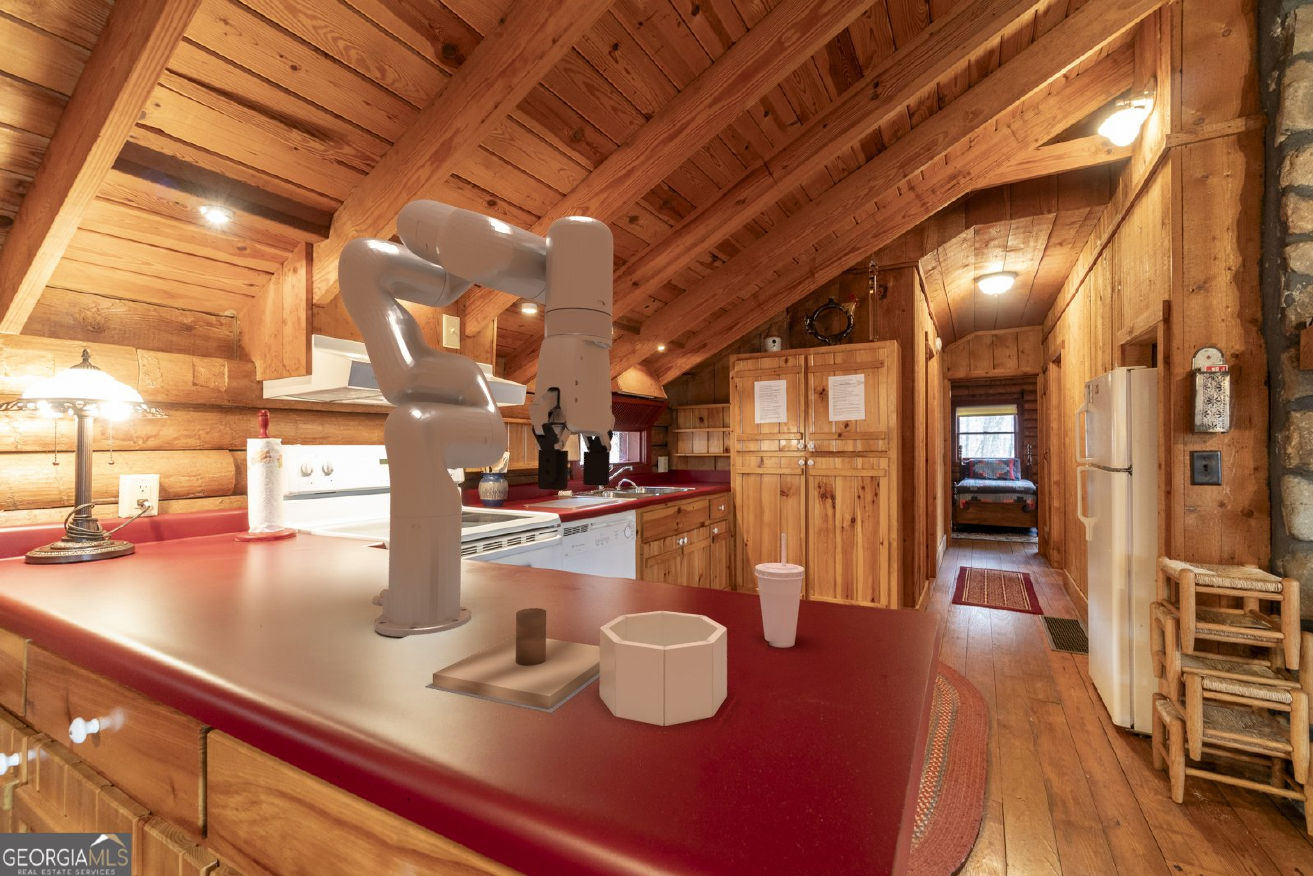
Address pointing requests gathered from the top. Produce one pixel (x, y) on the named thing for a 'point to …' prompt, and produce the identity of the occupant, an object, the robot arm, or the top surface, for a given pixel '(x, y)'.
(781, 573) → the smoothie
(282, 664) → the top surface
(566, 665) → the lid
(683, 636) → the bowl
